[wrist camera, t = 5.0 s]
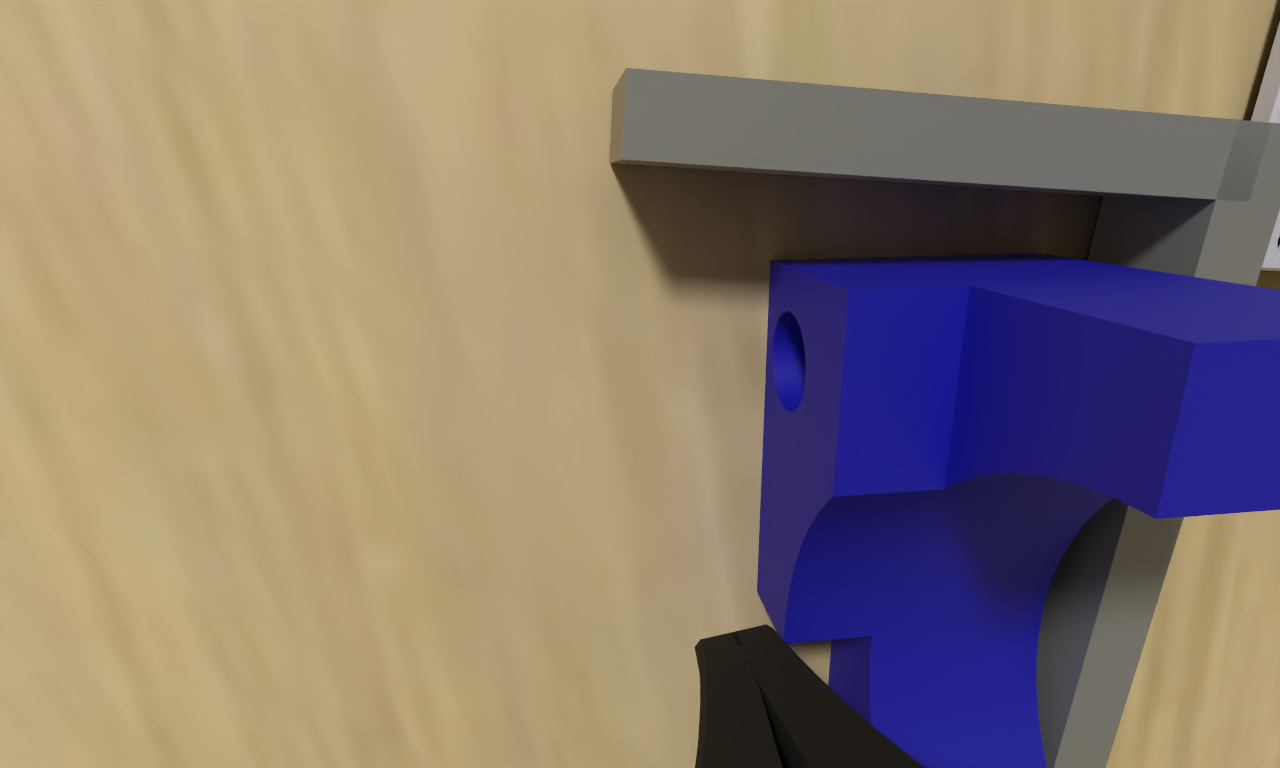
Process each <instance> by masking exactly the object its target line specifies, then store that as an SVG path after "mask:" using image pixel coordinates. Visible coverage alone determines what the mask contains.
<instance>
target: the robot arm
mask: <svg viewBox="0 0 1280 768" xmlns="http://www.w3.org/2000/svg"><path fill="white" fill-rule="evenodd" d="M1251 121H1257V122H1269V123H1280V22H1279V26H1278V29H1277V32H1276V36H1275V39H1274V43H1273V46H1272V50H1271V53H1270V57H1269V60H1268V63H1267V67H1266V70H1265V74H1264V77H1263V81H1262V84H1261V88H1260V91H1259V94H1258V98H1257V101H1256V105H1255V108H1254V112H1253V115H1252V118H1251ZM1279 237H1280V210H1279V214H1278V217H1277V220H1276V223H1275V226H1274V230H1273V233H1272V236H1271V239H1270V242H1269V246H1268V249H1267V252H1266V255H1265V258H1264V262H1263V265H1262V268H1261V270H1265V271H1280V244H1279V246H1278V248H1277V245H1278V239H1279ZM695 651H696V656H697V662H698V667H699V673H700V701H701V703H700V721H699V738H698V749H697V757H696V765H695V768H926V767H924V766H923V765H922V764H920V763H919V762H918V761H916V760H915V759H914V758H912V757H911V756H910V755H909V754H907V753H906V752H905V751H903V750H902V749H901V748H899V747H898V746H897V745H896V744H895V743H893V742H892V741H891V740H890V739H888V738H887V737H886V736H885V735H883V734H882V733H881V732H880V731H878V730H877V729H876V728H875V727H874V726H872V725H871V724H870V723H869V722H868V721H867V720H865V719H864V718H863V717H862V716H861V715H860V714H858V713H857V712H856V711H855V710H854V709H853V708H852V707H851V706H850V705H848V704H847V703H846V702H845V701H844V700H843V699H842V698H841V697H840V696H839V695H837V694H836V693H835V692H834V691H833V690H832V689H831V688H830V687H829V686H828V685H827V684H826V683H824V682H823V681H822V680H821V679H820V678H819V677H818V676H817V675H816V674H815V673H814V672H813V671H812V670H811V669H810V668H809V667H808V666H807V665H806V664H805V663H804V662H803V661H802V660H801V659H800V658H799V657H798V656H797V655H796V653H795V652H794V651H793V650H792V649H791V648H790V647H789V646H788V645H787V644H786V643H785V642H784V640H783V639H782V638H781V637H780V636H779V635H778V634H777V632H776V631H775V630H774V629H773V628H771V627H770V626H768V625H767V624H766V625H762V626H758V627H753V628H749V629H745V630H740V631H736V632H732V633H727V634H723V635H718V636H714V637H710V638H705V639H701V640H700V641H699V642H698V643H697V645H696V646H695Z"/></svg>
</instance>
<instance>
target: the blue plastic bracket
mask: <svg viewBox="0 0 1280 768" xmlns="http://www.w3.org/2000/svg"><path fill="white" fill-rule="evenodd" d="M1113 498H1115V499H1117V500H1119V501H1121V502H1123V503H1125V504H1127V505H1129V506H1131V507H1133V508H1135V509H1137V510H1139V511H1141V512H1143V513H1145V514H1147V515H1149V516H1151V517H1153V518H1155V519H1162V518H1175V517H1188V516H1201V515H1214V514H1227V513H1240V512H1253V511H1266V510H1279V509H1280V290H1276V289H1270V288H1263V287H1257V286H1250V285H1244V284H1237V283H1230V282H1224V281H1217V280H1211V279H1204V278H1198V277H1191V276H1185V275H1178V274H1172V273H1165V272H1158V271H1152V270H1145V269H1139V268H1132V267H1126V266H1119V265H1113V264H1106V263H1099V262H1093V261H1086V260H1080V259H1073V258H1067V257H1060V256H1054V255H1047V254H1041V253H1015V254H979V255H944V256H908V257H873V258H837V259H802V260H770V284H769V309H768V334H767V358H766V383H765V408H764V433H763V458H762V483H761V508H760V533H759V557H758V582H757V592H758V594H759V596H760V598H761V600H762V602H763V604H764V606H765V608H766V610H767V612H768V614H769V616H770V618H771V621H772V623H773V625H774V627H775V629H776V631H777V633H778V635H779V636H780V637H781V638H782V639H783V640H784V642H785V643H786V644H792V643H803V642H813V641H824V640H832V644H831V657H830V670H829V683H828V686H829V687H830V688H831V689H832V690H833V691H834V692H835V693H836V694H837V695H839V696H840V697H841V698H842V699H843V700H844V701H845V702H846V703H847V704H848V705H850V706H851V707H852V708H853V709H854V710H855V711H856V712H857V713H858V714H860V715H861V716H862V717H863V718H864V719H865V720H867V721H868V722H869V723H870V724H871V725H872V726H874V727H875V728H876V729H877V730H878V731H880V732H881V733H882V734H883V735H885V736H886V737H887V738H888V739H890V740H891V741H892V742H893V743H895V744H896V745H897V746H898V747H899V748H901V749H902V750H903V751H905V752H906V753H907V754H909V755H910V756H911V757H912V758H914V759H915V760H916V761H918V762H919V763H920V764H922V765H923V766H924V767H926V768H1047V765H1046V760H1045V755H1044V750H1043V745H1042V738H1041V731H1040V723H1039V716H1038V702H1037V688H1036V664H1037V648H1038V636H1039V629H1040V623H1041V618H1042V612H1043V607H1044V604H1045V600H1046V597H1047V593H1048V590H1049V586H1050V584H1051V581H1052V579H1053V576H1054V574H1055V571H1056V569H1057V567H1058V564H1059V562H1060V560H1061V559H1062V557H1063V555H1064V553H1065V552H1066V550H1067V548H1068V546H1069V544H1070V543H1071V541H1072V540H1073V539H1074V537H1075V536H1076V535H1077V533H1078V532H1079V531H1080V529H1081V528H1082V527H1083V526H1084V524H1085V523H1086V522H1087V521H1088V520H1089V519H1090V518H1091V517H1092V516H1093V515H1094V514H1095V513H1096V512H1097V511H1098V510H1099V509H1100V508H1101V507H1102V506H1103V505H1105V504H1106V503H1107V502H1109V501H1110V500H1112V499H1113Z"/></svg>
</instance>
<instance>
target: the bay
mask: <svg viewBox="0 0 1280 768" xmlns="http://www.w3.org/2000/svg"><path fill="white" fill-rule="evenodd" d="M610 163H616V164H631V165H646V166H661V167H675V168H690V169H705V170H720V171H735V172H750V173H765V174H780V175H795V176H810V177H825V178H840V179H855V180H870V181H885V182H900V183H915V184H930V185H945V186H959V187H974V188H989V189H1004V190H1019V191H1034V192H1049V193H1064V194H1079V195H1094V196H1103V199H1102V203H1101V207H1100V211H1099V215H1098V219H1097V223H1096V228H1095V232H1094V236H1093V240H1092V244H1091V248H1090V252H1089V257H1088V261H1093V262H1099V263H1106V264H1113V265H1119V266H1126V267H1132V268H1139V269H1145V270H1152V271H1158V272H1165V273H1172V274H1178V275H1185V276H1191V277H1198V278H1204V279H1211V280H1217V281H1224V282H1230V283H1237V284H1244V285H1250V286H1256V284H1257V281H1258V278H1259V274H1260V271H1261V268H1262V265H1263V262H1264V258H1265V255H1266V252H1267V249H1268V246H1269V242H1270V239H1271V236H1272V233H1273V230H1274V226H1275V223H1276V220H1277V217H1278V214H1279V210H1280V123H1269V122H1257V121H1246V120H1234V119H1222V118H1210V117H1198V116H1186V115H1175V114H1163V113H1151V112H1139V111H1127V110H1116V109H1104V108H1092V107H1080V106H1068V105H1057V104H1045V103H1033V102H1021V101H1009V100H998V99H986V98H974V97H962V96H950V95H939V94H927V93H915V92H903V91H891V90H880V89H868V88H856V87H844V86H832V85H820V84H809V83H797V82H785V81H773V80H761V79H750V78H738V77H726V76H714V75H702V74H691V73H679V72H667V71H655V70H643V69H632V68H626V69H625V71H624V73H623V74H622V76H621V77H620V79H619V81H618V82H617V84H616V86H615V87H614V89H613V102H612V123H611V145H610ZM1183 518H1184V517H1175V518H1162V519H1155V518H1153V517H1151V516H1149V515H1147V514H1145V513H1143V512H1141V511H1139V510H1137V509H1135V508H1133V507H1131V506H1129V505H1127V504H1125V503H1123V502H1121V501H1119V500H1117V499H1115V498H1113V499H1112V500H1110V501H1109V502H1107V503H1106V504H1105V505H1103V506H1102V507H1101V508H1100V509H1099V510H1098V511H1097V512H1096V513H1095V514H1094V515H1093V516H1092V517H1091V518H1090V519H1089V520H1088V521H1087V522H1086V523H1085V524H1084V526H1083V527H1082V528H1081V529H1080V531H1079V532H1078V533H1077V535H1076V536H1075V537H1074V539H1073V540H1072V541H1071V543H1070V544H1069V546H1068V548H1067V550H1066V552H1065V553H1064V555H1063V557H1062V559H1061V560H1060V562H1059V564H1058V567H1057V569H1056V571H1055V574H1054V576H1053V579H1052V581H1051V584H1050V586H1049V590H1048V593H1047V597H1046V600H1045V604H1044V607H1043V612H1042V618H1041V623H1040V629H1039V636H1038V648H1037V664H1036V688H1037V702H1038V716H1039V723H1040V731H1041V738H1042V745H1043V750H1044V755H1045V760H1046V765H1047V768H1105V767H1106V764H1107V761H1108V758H1109V755H1110V751H1111V748H1112V745H1113V742H1114V739H1115V735H1116V732H1117V729H1118V726H1119V723H1120V719H1121V716H1122V713H1123V710H1124V707H1125V703H1126V700H1127V697H1128V694H1129V691H1130V687H1131V684H1132V681H1133V678H1134V675H1135V671H1136V668H1137V665H1138V662H1139V659H1140V655H1141V652H1142V649H1143V646H1144V643H1145V639H1146V636H1147V633H1148V630H1149V627H1150V623H1151V620H1152V617H1153V614H1154V611H1155V607H1156V604H1157V601H1158V598H1159V595H1160V591H1161V588H1162V585H1163V582H1164V579H1165V575H1166V572H1167V569H1168V566H1169V563H1170V559H1171V556H1172V553H1173V550H1174V547H1175V543H1176V540H1177V537H1178V534H1179V531H1180V527H1181V524H1182V521H1183Z"/></svg>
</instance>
